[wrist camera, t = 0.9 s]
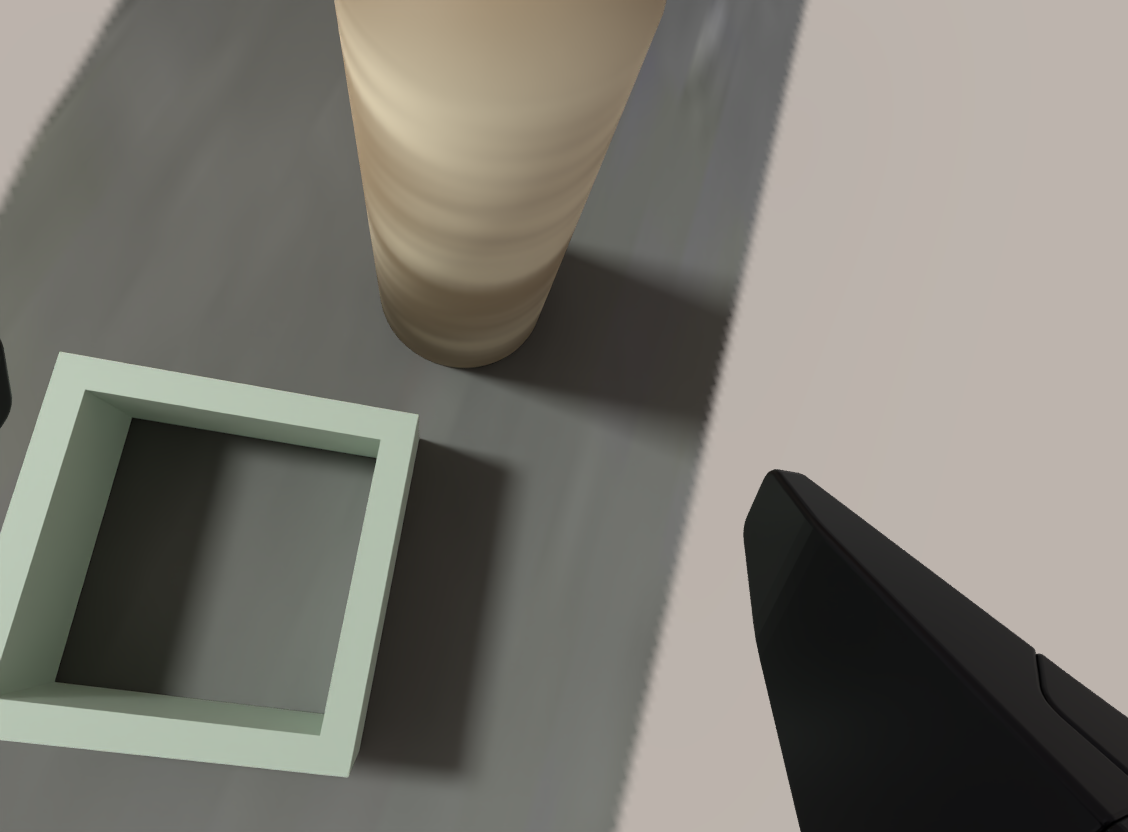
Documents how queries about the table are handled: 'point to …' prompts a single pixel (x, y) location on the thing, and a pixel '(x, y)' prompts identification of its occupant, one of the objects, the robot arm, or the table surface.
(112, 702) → the sage collar
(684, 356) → the table surface
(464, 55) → the maple dowel
